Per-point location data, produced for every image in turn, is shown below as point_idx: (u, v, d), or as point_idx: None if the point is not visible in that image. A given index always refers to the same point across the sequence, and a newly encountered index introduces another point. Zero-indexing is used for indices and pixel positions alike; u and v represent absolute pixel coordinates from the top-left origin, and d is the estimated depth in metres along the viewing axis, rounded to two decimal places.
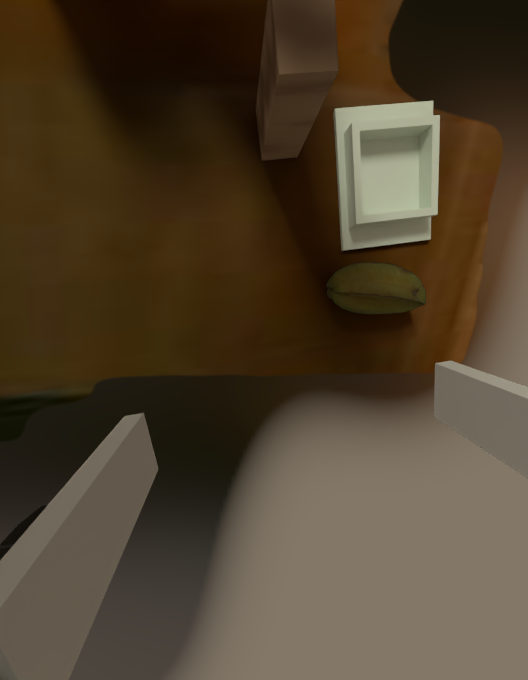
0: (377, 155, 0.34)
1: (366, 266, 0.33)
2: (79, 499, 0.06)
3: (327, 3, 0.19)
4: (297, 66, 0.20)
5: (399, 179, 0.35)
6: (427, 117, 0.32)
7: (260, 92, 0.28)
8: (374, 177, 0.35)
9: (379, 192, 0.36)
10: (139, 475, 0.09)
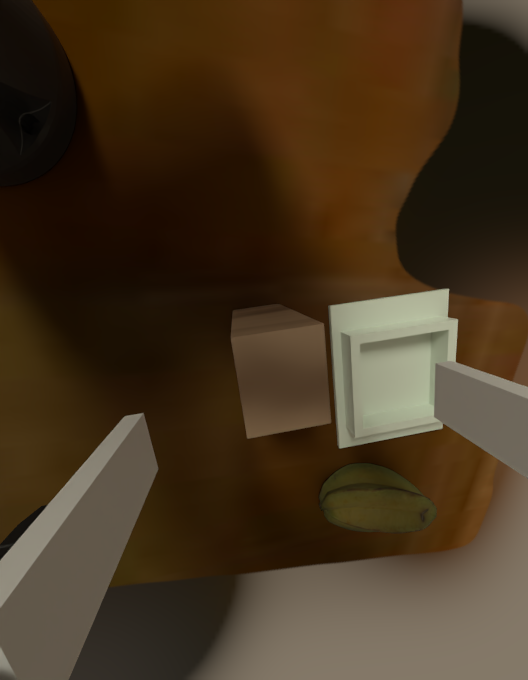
0: (381, 350, 0.29)
1: (367, 494, 0.28)
2: (79, 499, 0.06)
3: (316, 353, 0.13)
4: (273, 427, 0.14)
5: (406, 372, 0.30)
6: (442, 322, 0.26)
7: None
8: (377, 373, 0.29)
9: (383, 387, 0.30)
10: (139, 475, 0.09)
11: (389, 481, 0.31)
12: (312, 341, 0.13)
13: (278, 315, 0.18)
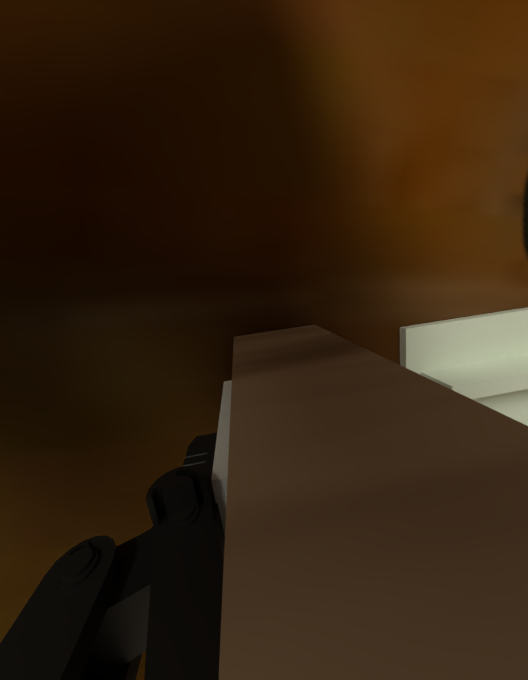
0: (484, 401, 0.17)
1: None
2: None
3: None
4: None
5: None
6: None
7: None
8: None
9: None
10: None
11: None
12: None
13: (360, 381, 0.07)
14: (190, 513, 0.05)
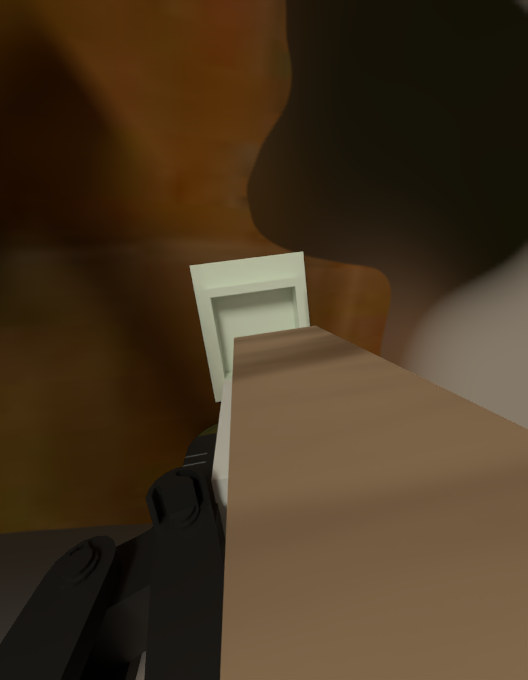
0: (244, 308, 0.31)
1: None
2: None
3: None
4: None
5: (272, 330, 0.32)
6: (288, 279, 0.29)
7: None
8: (243, 330, 0.32)
9: None
10: None
11: None
12: None
13: (361, 383, 0.07)
14: (190, 513, 0.05)
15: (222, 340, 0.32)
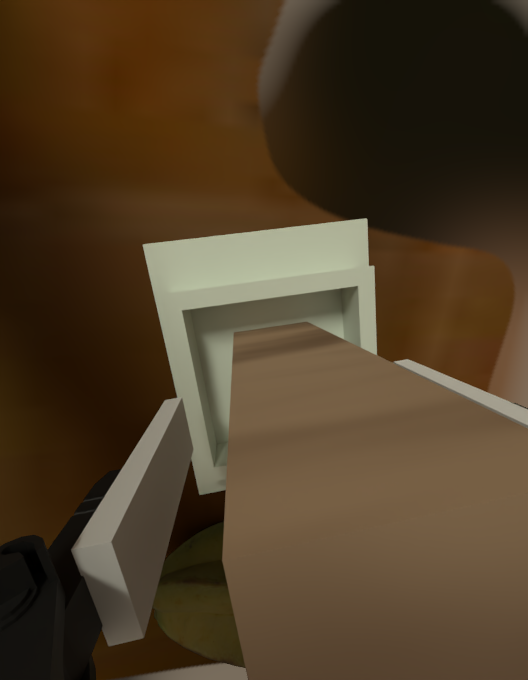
0: (252, 328, 0.16)
1: (217, 591, 0.15)
2: (149, 461, 0.07)
3: None
4: None
5: None
6: (344, 272, 0.14)
7: None
8: None
9: None
10: (182, 451, 0.10)
11: None
12: None
13: (335, 363, 0.08)
14: (20, 602, 0.04)
15: (210, 388, 0.17)
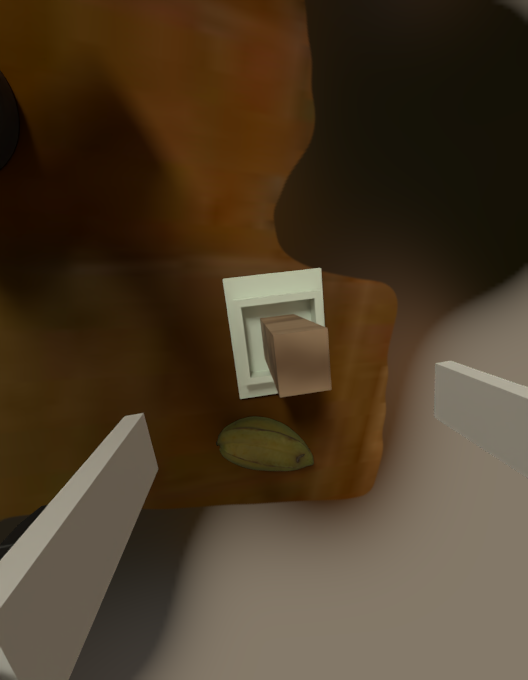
0: (268, 316, 0.36)
1: (251, 432, 0.34)
2: (79, 499, 0.06)
3: (322, 346, 0.23)
4: (296, 390, 0.23)
5: None
6: (308, 292, 0.33)
7: (264, 332, 0.31)
8: None
9: None
10: (139, 475, 0.09)
11: (279, 431, 0.38)
12: (320, 338, 0.22)
13: (297, 322, 0.27)
14: None
15: (248, 344, 0.36)
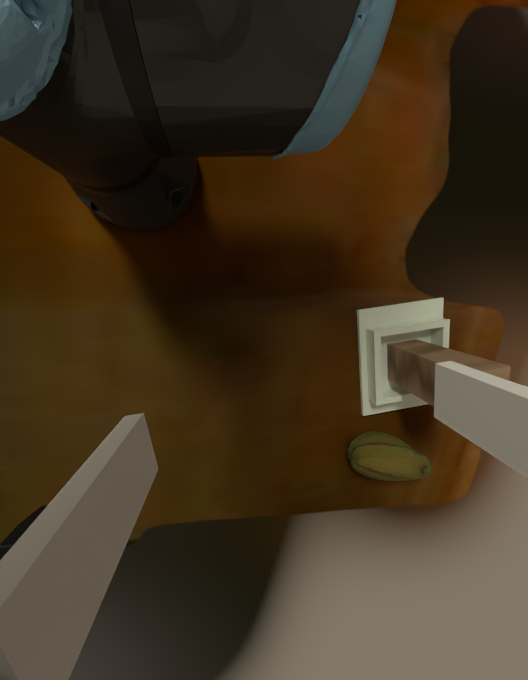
0: (394, 342, 0.39)
1: (385, 448, 0.38)
2: (79, 499, 0.06)
3: None
4: None
5: None
6: (439, 321, 0.37)
7: (407, 360, 0.35)
8: None
9: None
10: (139, 475, 0.09)
11: (399, 445, 0.42)
12: (503, 375, 0.26)
13: (453, 355, 0.31)
14: None
15: None
